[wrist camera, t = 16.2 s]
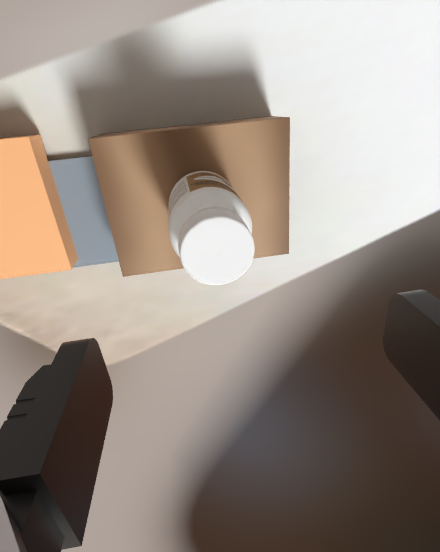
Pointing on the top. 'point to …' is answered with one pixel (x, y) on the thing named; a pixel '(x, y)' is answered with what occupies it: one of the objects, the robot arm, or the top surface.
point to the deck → (178, 163)
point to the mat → (84, 210)
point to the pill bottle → (210, 228)
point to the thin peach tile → (31, 212)
